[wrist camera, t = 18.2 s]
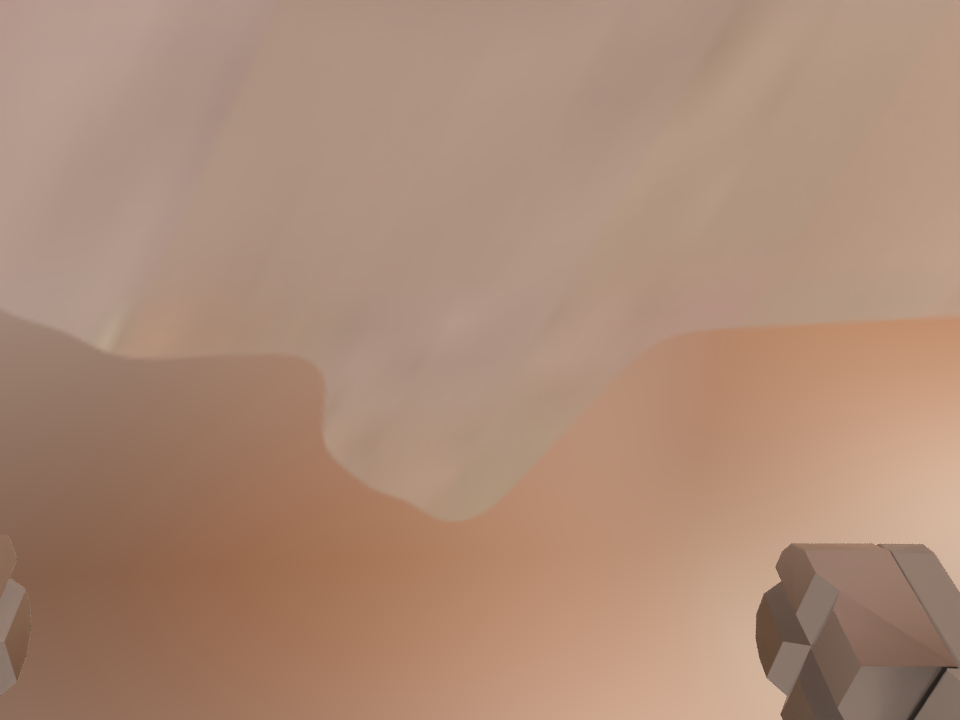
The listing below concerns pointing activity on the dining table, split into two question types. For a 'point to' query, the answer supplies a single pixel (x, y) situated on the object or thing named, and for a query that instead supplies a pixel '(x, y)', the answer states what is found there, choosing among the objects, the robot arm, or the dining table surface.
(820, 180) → the dining table surface
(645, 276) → the dining table surface
